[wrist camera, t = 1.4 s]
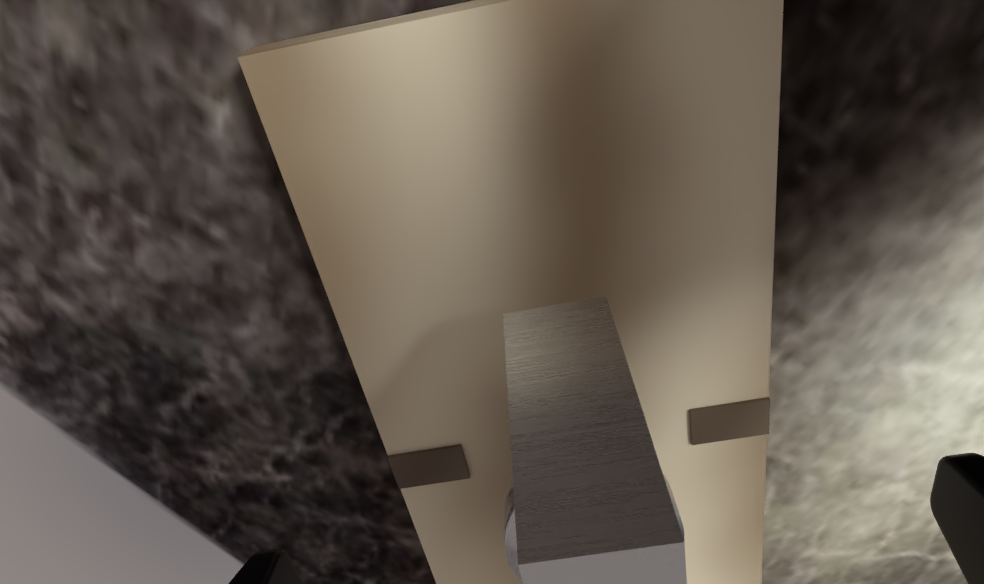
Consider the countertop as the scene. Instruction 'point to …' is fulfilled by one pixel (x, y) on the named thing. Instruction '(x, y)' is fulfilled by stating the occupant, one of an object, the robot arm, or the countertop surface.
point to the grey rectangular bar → (583, 457)
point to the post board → (544, 236)
